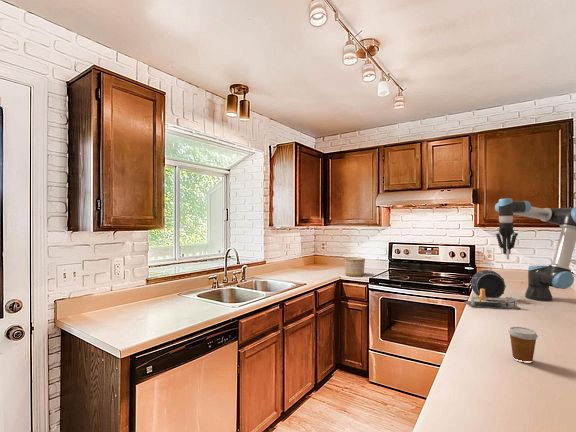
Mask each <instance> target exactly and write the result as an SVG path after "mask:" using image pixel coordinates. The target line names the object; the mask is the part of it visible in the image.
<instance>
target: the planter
mask: <svg viewBox="0 0 576 432" xmlns="http://www.w3.org/2000/svg"><path fill="white" fill-rule="evenodd" d="M365 262H366V259H365V257H360V256H346V257H344V270H345V271H344V273H345V275H346V276H347V277H353V278H356V277H357V278H358V277H363V276H364V275H365V264H366V263H365Z"/></svg>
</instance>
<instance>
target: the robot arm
mask: <svg viewBox="0 0 576 432" xmlns="http://www.w3.org/2000/svg"><path fill="white" fill-rule="evenodd" d="M494 210H495V212H496V213H498V222H499V224H498V228H499V229H498V232H496V233H494V236H495V237H496V239H497V242H498V246H499V248H500V249H502V254H503V255H504V260H510V255H511V250H512V249H514V248H515V245H516V240H517V236H518V235H519V233H518V232H515V229H514V223H513V222H514V216H521V217H525V218H531V219H536V220H537V219H538V220H540V221H542V222H543V223H544V222H546V223H550V224H555V225H559V227H560V228H561V229H560V234H559V238H558V242H557V245H556V249H555V253H554V256H553V260H552V263H551V264H548V265H529V266H528V270H527V276H528V277H527V280H528V282H527V283H528V287H527V288H526V290H525V293H524V297H525V298H526V299H529V300H533V301H539V302H552V301H553V296H552V292H551V290H550V287H551V288H555V289H561V290H566V289H569V288H570V287H571V286H572V285H573V283H574V281H575V277H574V275H573V273H572V269H571V268H570V264H571V261H572V257H573V253H574V250H575V246H576V207H557V208H554V207H553V208H549V207H545V208H544V207H543V208H540V207H537V206H532V204H531V203H530V202H529V201H528V200H517V201H516V200H513V198H500V199H498V202H497V203H495V205H494Z"/></svg>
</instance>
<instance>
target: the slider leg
mask: <svg viewBox="0 0 576 432" xmlns="http://www.w3.org/2000/svg"><path fill="white" fill-rule="evenodd" d="M478 297H481V299H478V302H479V303H480V304H481V302H487V300H486V296H485V289H480V295H479V296H478Z"/></svg>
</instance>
